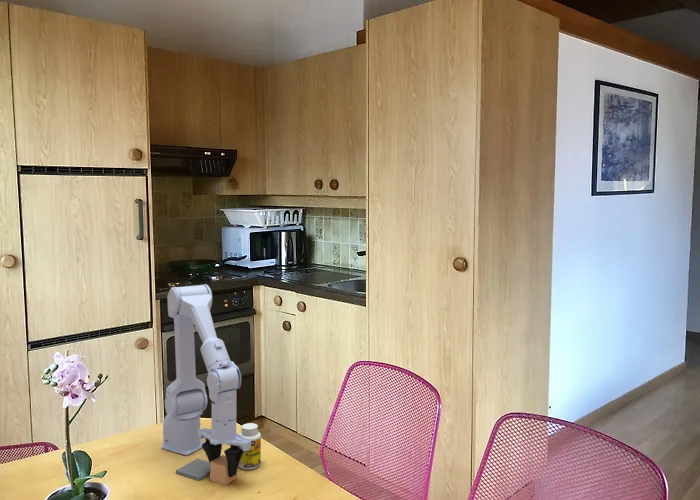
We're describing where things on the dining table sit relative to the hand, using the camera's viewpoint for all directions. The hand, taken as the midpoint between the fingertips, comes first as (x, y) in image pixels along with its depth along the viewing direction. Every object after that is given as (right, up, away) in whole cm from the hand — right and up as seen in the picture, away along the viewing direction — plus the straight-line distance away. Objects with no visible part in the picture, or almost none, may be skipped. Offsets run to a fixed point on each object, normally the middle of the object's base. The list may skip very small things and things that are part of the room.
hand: (224, 473), depth 136 cm
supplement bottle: (+5, -1, +7) cm, 9 cm away
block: (0, -1, 0) cm, 1 cm away
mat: (-7, -1, +4) cm, 8 cm away
